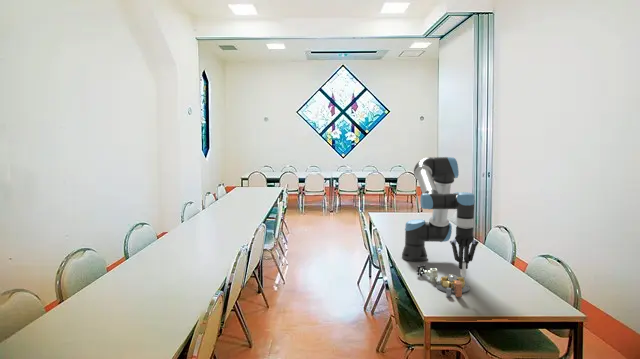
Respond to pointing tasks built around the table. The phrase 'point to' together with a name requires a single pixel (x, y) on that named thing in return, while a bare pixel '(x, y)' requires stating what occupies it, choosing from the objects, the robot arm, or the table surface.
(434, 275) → the valve
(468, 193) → the robot arm
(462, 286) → the tan and copper piece
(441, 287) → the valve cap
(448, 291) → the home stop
